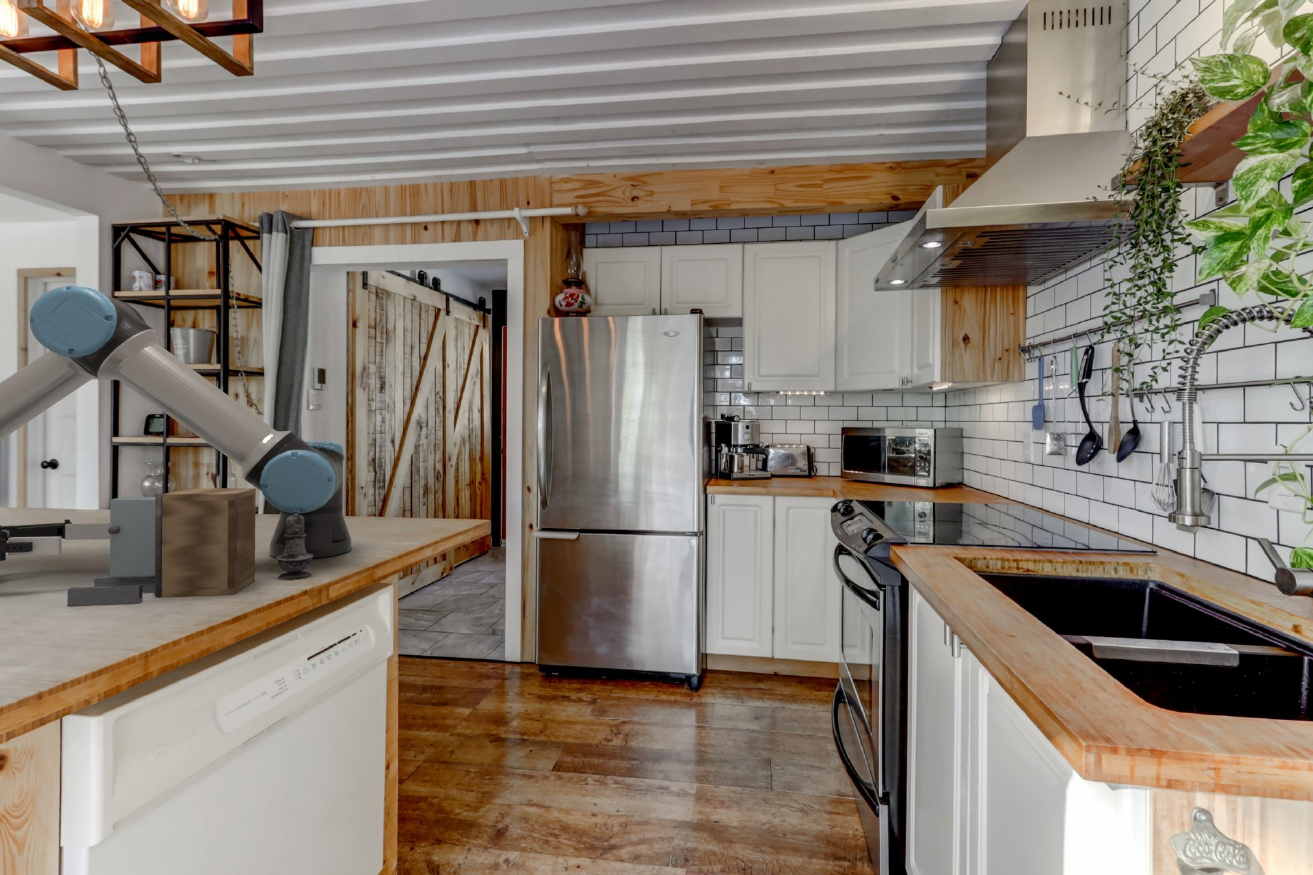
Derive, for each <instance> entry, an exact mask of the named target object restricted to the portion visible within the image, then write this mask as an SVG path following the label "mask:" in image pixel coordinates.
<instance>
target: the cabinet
mask: <svg viewBox="0 0 1313 875" xmlns="http://www.w3.org/2000/svg"><path fill="white" fill-rule="evenodd" d="M256 489H257V488H256V487H253V488H252V487H249V488H248V487H232V488H231V487H229V488H228V487H226V488H225V487H224V488H223V487H219V488H218V487H214V488H213V487H212V488H209V487H206V488H203V487H199V488H197V487H196V488H194V487H190V488H184V489H180V490H175V491H171V492H166V493H155V495H154V497H155V592H154V597H155V598H171V597H172V598H174V597H175V598H176V597H199V596H200V597H201V596H202V597H203V596H226V595H227V596H229V595H230V594H231V595H235V593H236V594H237V593H238V591H239V592H240V591H242V590H243V589H245V588H247V586H249V585H250V584H253V583H254V582H255V581H256V572H255V571H256V501H257V500H256V499H257V498H256V495H257V492H256V491H257V490H256ZM241 589H242V590H241Z"/></svg>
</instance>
